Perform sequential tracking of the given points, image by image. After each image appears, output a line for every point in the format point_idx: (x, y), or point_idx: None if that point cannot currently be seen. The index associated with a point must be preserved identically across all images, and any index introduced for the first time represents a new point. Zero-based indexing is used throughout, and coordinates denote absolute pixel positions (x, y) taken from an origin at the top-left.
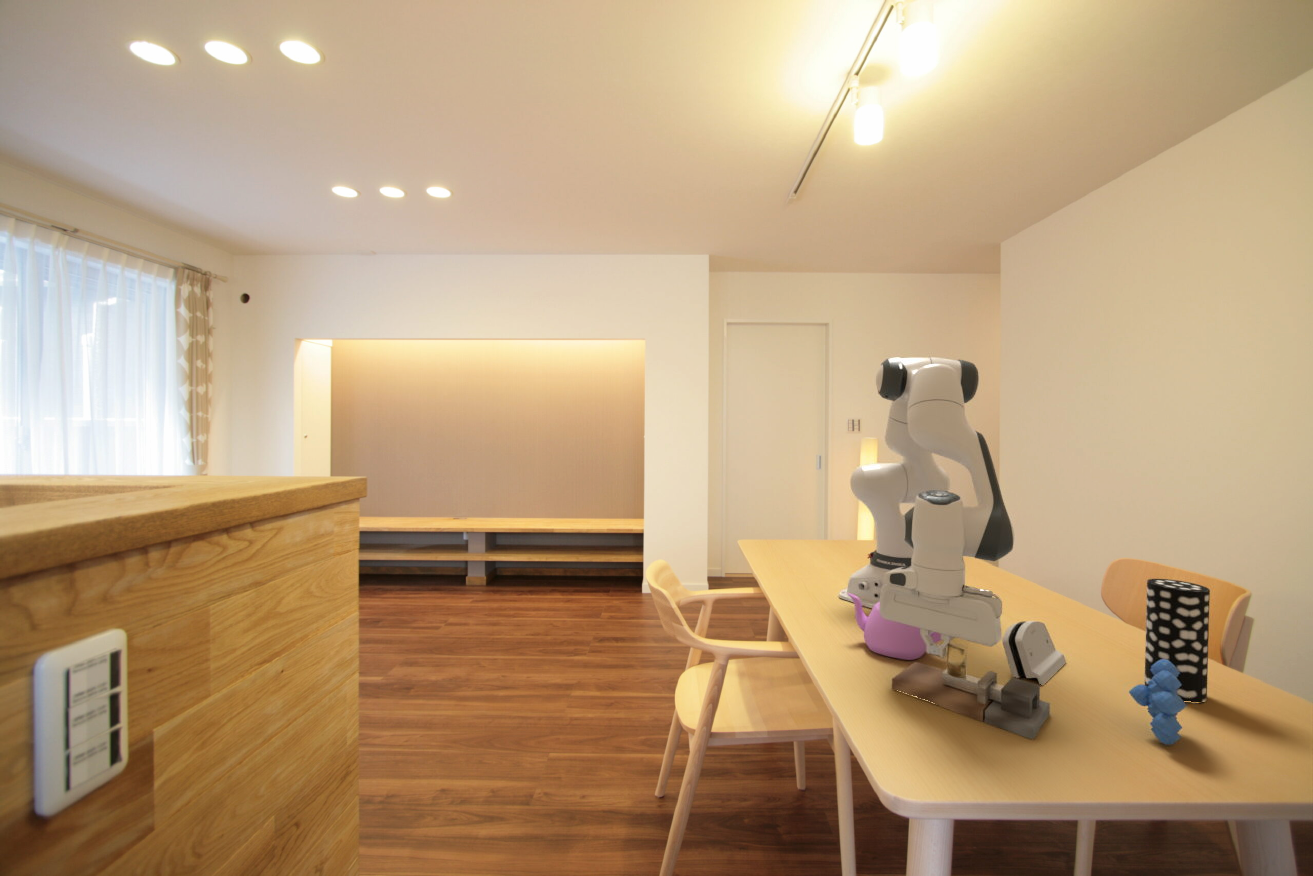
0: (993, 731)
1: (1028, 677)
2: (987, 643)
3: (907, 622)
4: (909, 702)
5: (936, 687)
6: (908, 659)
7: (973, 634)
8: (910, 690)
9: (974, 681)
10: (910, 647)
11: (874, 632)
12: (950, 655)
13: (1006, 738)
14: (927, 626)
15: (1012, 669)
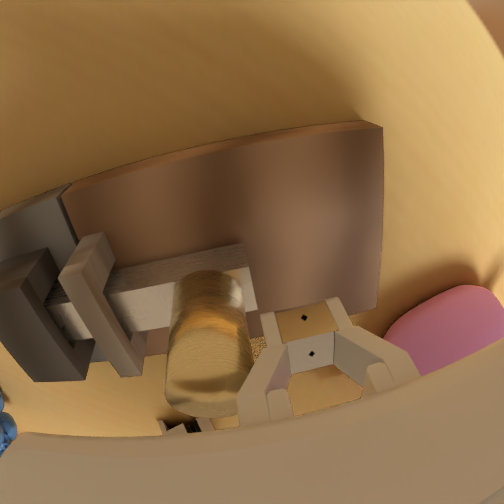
0: (35, 161)
1: (179, 425)
2: (24, 442)
3: (497, 354)
4: (278, 82)
5: (243, 204)
6: (396, 321)
7: (73, 478)
8: (307, 130)
9: (135, 298)
10: (407, 344)
11: (495, 314)
12: (217, 334)
13: (6, 161)
14: (390, 413)
15: (209, 429)
